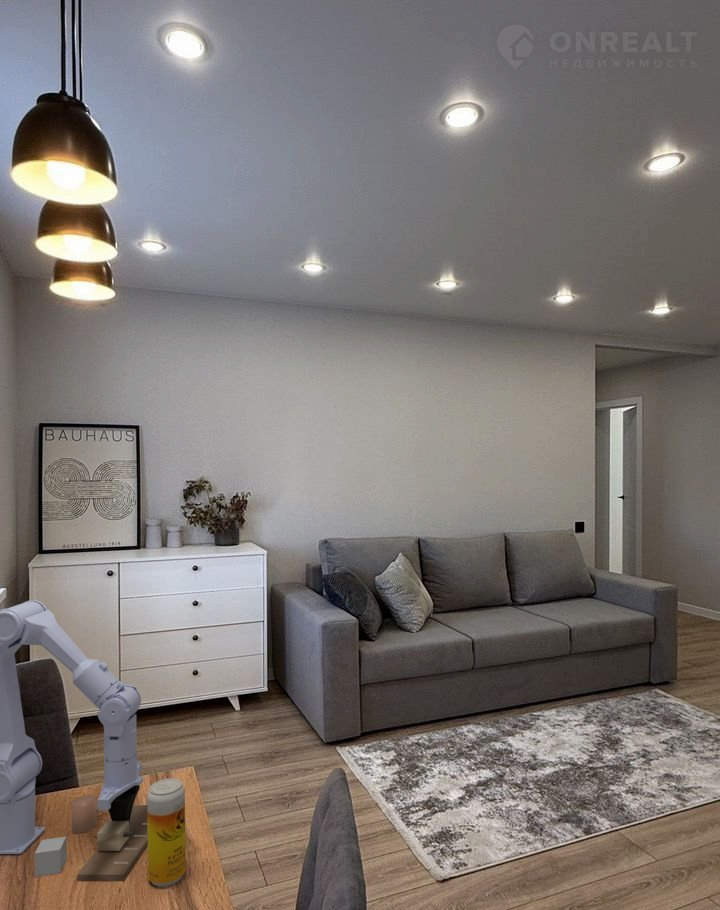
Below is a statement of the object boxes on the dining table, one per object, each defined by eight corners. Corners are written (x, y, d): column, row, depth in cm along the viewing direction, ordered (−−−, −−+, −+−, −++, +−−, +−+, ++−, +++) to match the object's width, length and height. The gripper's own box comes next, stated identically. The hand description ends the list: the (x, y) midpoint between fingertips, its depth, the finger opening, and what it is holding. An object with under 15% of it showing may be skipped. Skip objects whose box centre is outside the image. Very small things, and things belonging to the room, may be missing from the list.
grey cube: (34, 877, 103) (34, 853, 104) (42, 863, 107) (41, 839, 108) (60, 873, 104) (60, 849, 104) (66, 859, 108) (66, 836, 108)
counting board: (77, 880, 102) (77, 873, 102) (132, 810, 124) (132, 804, 124) (123, 880, 102) (123, 874, 102) (170, 810, 124) (170, 804, 124)
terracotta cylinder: (67, 833, 116) (66, 807, 116) (78, 821, 121) (78, 795, 121) (89, 833, 116) (89, 806, 116) (100, 821, 120) (100, 795, 121)
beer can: (174, 890, 99) (173, 796, 99) (140, 886, 100) (139, 793, 101) (192, 867, 105) (190, 778, 105) (160, 864, 106) (158, 776, 107)
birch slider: (97, 850, 108) (97, 833, 108) (107, 837, 112) (107, 821, 112) (128, 850, 108) (128, 833, 108) (138, 837, 112) (137, 820, 112)
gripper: (124, 773, 107) (125, 853, 106) (156, 738, 121) (157, 808, 120) (85, 773, 107) (86, 853, 106) (121, 739, 121) (122, 808, 121)
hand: (121, 829), depth 113 cm, fingers closed
